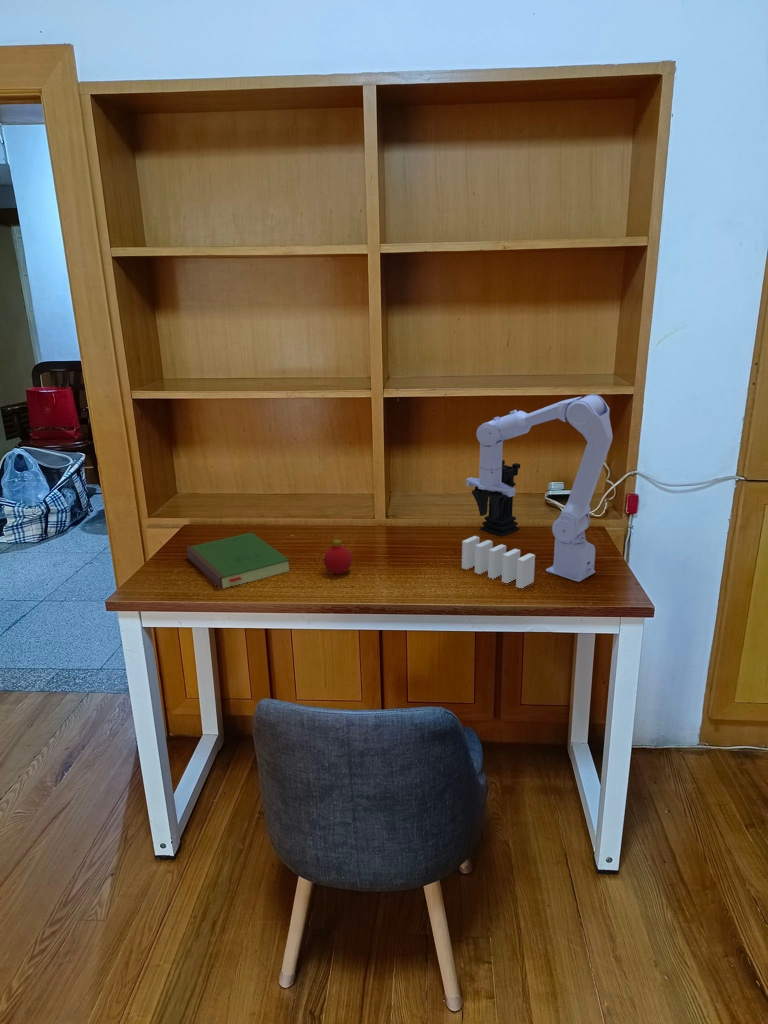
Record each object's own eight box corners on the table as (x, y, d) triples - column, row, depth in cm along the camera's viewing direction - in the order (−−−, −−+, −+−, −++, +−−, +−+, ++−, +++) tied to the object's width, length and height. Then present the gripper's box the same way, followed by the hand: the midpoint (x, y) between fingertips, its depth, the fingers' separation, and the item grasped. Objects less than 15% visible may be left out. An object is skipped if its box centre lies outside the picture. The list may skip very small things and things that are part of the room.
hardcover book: (188, 560, 185) (186, 547, 184) (252, 544, 195) (251, 532, 194) (222, 593, 166) (220, 579, 164) (291, 574, 175) (290, 560, 174)
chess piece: (480, 529, 200) (482, 464, 194) (497, 523, 205) (500, 458, 199) (501, 537, 195) (504, 469, 188) (519, 529, 200) (522, 464, 193)
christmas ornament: (346, 565, 179) (344, 529, 175) (356, 575, 173) (355, 538, 169) (320, 570, 176) (318, 533, 173) (330, 580, 170) (328, 543, 167)
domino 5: (533, 583, 166) (535, 554, 163) (521, 589, 163) (523, 561, 160) (528, 581, 167) (529, 553, 164) (515, 587, 164) (517, 559, 161)
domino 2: (491, 568, 174) (492, 541, 172) (479, 574, 171) (480, 547, 169) (486, 566, 176) (487, 539, 173) (474, 572, 172) (475, 545, 170)
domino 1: (478, 564, 177) (479, 537, 175) (466, 569, 174) (467, 542, 172) (473, 562, 178) (474, 535, 176) (461, 568, 175) (462, 541, 173)
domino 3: (505, 573, 172) (506, 545, 169) (493, 579, 168) (494, 551, 166) (500, 571, 173) (501, 544, 170) (487, 577, 169) (488, 549, 167)
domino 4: (519, 578, 169) (520, 550, 166) (507, 584, 166) (508, 556, 163) (513, 576, 170) (515, 548, 167) (501, 582, 167) (502, 554, 164)
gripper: (459, 465, 178) (458, 514, 183) (504, 475, 169) (502, 527, 173) (475, 459, 183) (474, 507, 188) (521, 469, 173) (518, 519, 178)
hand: (489, 516), depth 181 cm, fingers open, 3 cm apart
